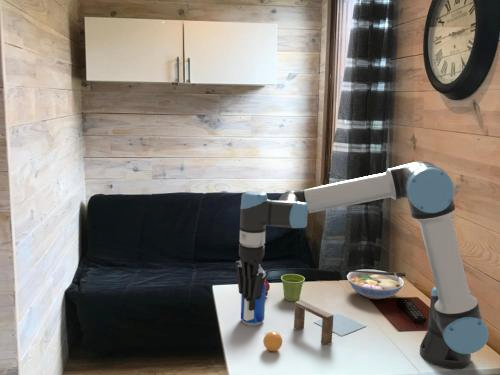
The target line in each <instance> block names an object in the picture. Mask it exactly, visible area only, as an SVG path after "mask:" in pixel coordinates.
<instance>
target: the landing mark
mask: <svg viewBox="0 0 500 375" xmlns="http://www.w3.org/2000/svg"><path fill="white" fill-rule="evenodd" d="M333 315H334V316H333V331H332V333H333V334H335V335H338V336H340V337H343V336H346V335H349V334H351V333H354V332H356V331H359V330H361V329H363V328H366V327H367V325H365V324H362V323H361V322H358V321H356V320H353V319H352V318H349V317H347V316H345V315H343V314H341V313H339V312H338V313H336V314H333ZM313 323H314V324H316V325H318V326H320V327H322V318H321V319H319V320H316V321H313Z"/></svg>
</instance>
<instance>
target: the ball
mask: <svg viewBox="0 0 500 375" xmlns="http://www.w3.org/2000/svg"><path fill="white" fill-rule="evenodd" d="M263 346H264V347H265V349H266V350H268V351H269V352H276V351H279V350H280V349H281V347H282V346H283V337H282V336H281V335H280V334H279V332H277V331H270V332H267V333H265V335H264V337H263Z"/></svg>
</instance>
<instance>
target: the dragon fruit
mask: <svg viewBox="0 0 500 375" xmlns="http://www.w3.org/2000/svg"><path fill="white" fill-rule="evenodd" d="M264 283H265V285H266V288H265V297H268V294H269V292H268V291H270V287H271V286H270V283H269V281H268V280H266V279H265V282H264Z"/></svg>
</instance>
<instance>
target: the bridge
mask: <svg viewBox="0 0 500 375" xmlns="http://www.w3.org/2000/svg"><path fill="white" fill-rule="evenodd" d="M306 312H308V313H310V314H311V315H314V316H317V317H319V318H321V319H322V326H321V338H320V343H321V344H323V345H324V346H327V345H329V344H331V343H333V332H332V331H333V316H334V315H335V314H332V313H330V312H328V311H326V310H324V309H321V308H319V307H318V306H315V305H313V304H311V303H309V302H306V301H305V300H303V299H299V300H298V301H297V300H296V301H294V318H293V321H294V322H293V329H294V330H297V331H299V330H302V329H305V315H306Z"/></svg>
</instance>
